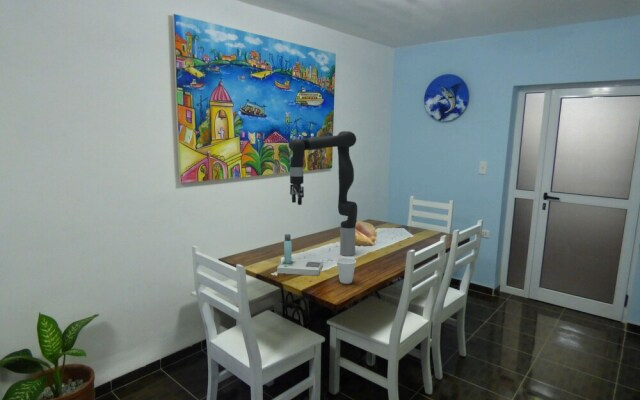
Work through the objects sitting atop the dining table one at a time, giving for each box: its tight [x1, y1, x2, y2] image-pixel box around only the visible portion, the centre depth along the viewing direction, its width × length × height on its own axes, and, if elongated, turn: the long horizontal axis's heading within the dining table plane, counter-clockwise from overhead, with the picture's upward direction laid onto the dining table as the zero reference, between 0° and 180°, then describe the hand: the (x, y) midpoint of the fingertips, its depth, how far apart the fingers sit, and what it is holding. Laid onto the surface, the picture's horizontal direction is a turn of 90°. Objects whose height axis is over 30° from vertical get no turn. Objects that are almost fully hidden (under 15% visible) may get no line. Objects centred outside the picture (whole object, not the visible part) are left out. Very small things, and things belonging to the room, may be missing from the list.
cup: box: [336, 257, 357, 285], centre depth 186 cm, size 10×10×11 cm
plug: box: [283, 233, 293, 265], centre depth 204 cm, size 4×4×19 cm
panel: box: [276, 258, 324, 277], centre depth 205 cm, size 16×22×4 cm
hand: (296, 203), depth 213 cm, fingers open, 8 cm apart
